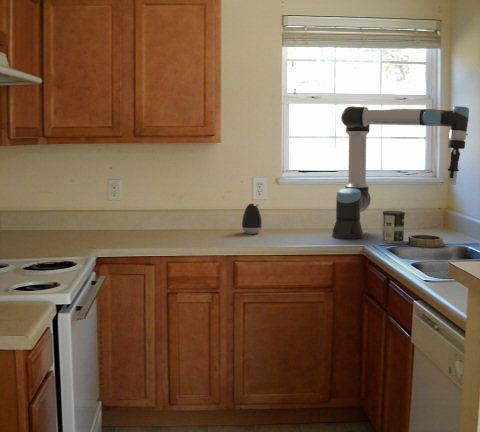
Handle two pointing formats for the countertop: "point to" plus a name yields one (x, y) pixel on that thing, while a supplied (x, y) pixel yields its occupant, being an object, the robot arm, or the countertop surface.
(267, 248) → the countertop surface
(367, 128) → the robot arm
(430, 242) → the collar
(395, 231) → the coffee can
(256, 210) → the black egg-shaped speaker
